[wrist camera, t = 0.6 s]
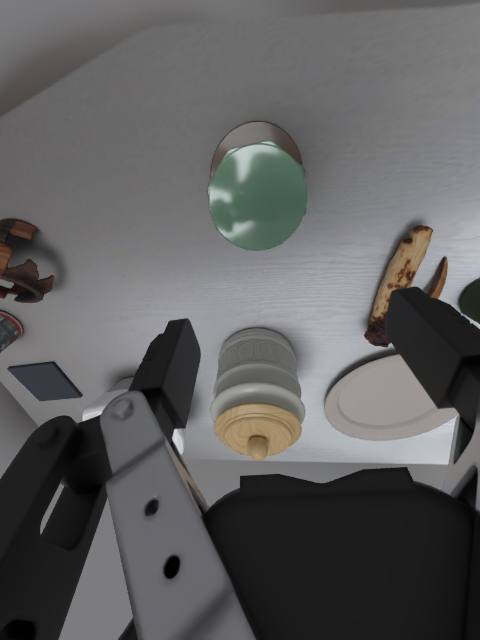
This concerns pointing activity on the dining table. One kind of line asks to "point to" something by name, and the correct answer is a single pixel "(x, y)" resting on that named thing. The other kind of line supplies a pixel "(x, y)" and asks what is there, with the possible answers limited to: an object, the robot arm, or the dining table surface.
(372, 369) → the plate
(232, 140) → the holder
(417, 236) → the bone fish hook
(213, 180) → the cup
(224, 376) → the jar
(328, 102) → the dining table surface
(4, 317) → the pill bottle
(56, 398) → the coaster
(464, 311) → the character mug
